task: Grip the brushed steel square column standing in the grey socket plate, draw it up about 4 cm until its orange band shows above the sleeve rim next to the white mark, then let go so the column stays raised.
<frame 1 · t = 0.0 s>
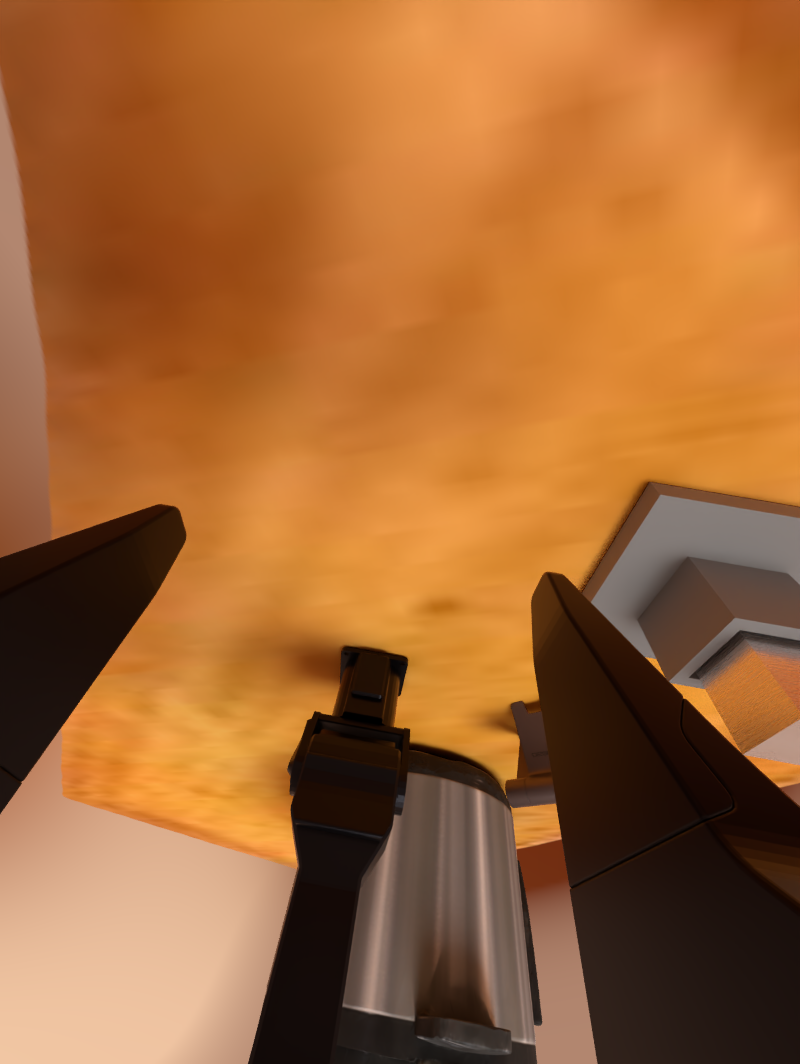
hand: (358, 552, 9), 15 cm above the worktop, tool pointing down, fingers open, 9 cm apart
portable electronic device stand: (546, 714, 40), on the worktop
steel column: (751, 659, 22), point 6 cm above the worktop, slide at 0.0 cm
pressure cooker: (419, 782, 54), on the worktop
grey socket plate: (695, 583, 27), on the worktop
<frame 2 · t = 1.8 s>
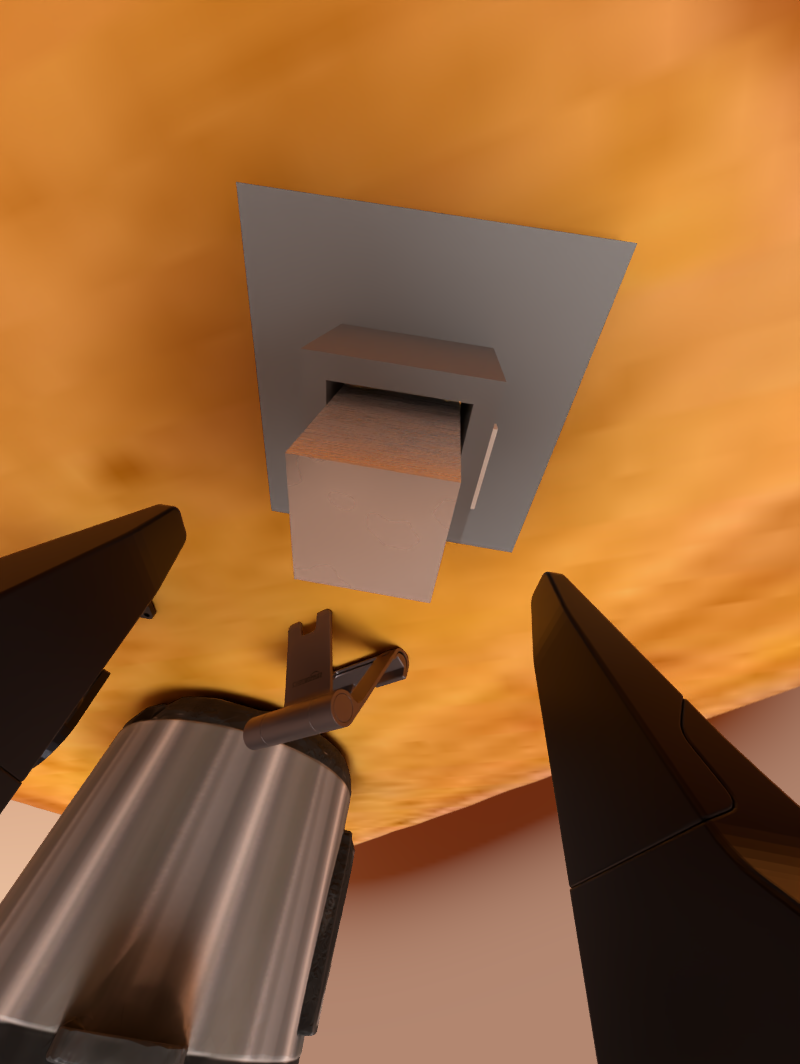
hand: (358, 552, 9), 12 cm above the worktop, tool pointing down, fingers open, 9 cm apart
portable electronic device stand: (341, 642, 31), on the worktop
steel column: (392, 457, 13), point 6 cm above the worktop, slide at 0.0 cm
pressure cooker: (257, 744, 46), on the worktop
grey socket plate: (410, 401, 18), on the worktop
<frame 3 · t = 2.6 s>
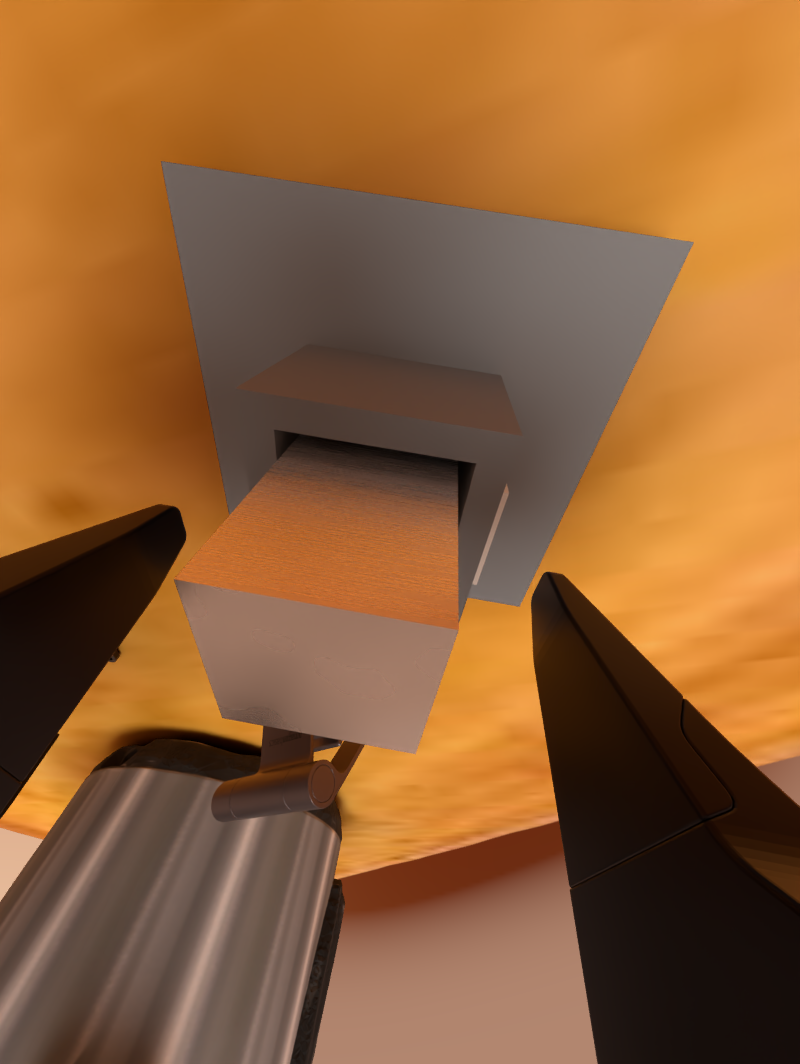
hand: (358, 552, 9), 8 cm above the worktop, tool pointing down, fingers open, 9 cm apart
portable electronic device stand: (326, 687, 28), on the worktop
steel column: (368, 523, 10), point 6 cm above the worktop, slide at 0.0 cm
pressure cooker: (241, 782, 43), on the worktop
grey socket plate: (398, 434, 15), on the worktop
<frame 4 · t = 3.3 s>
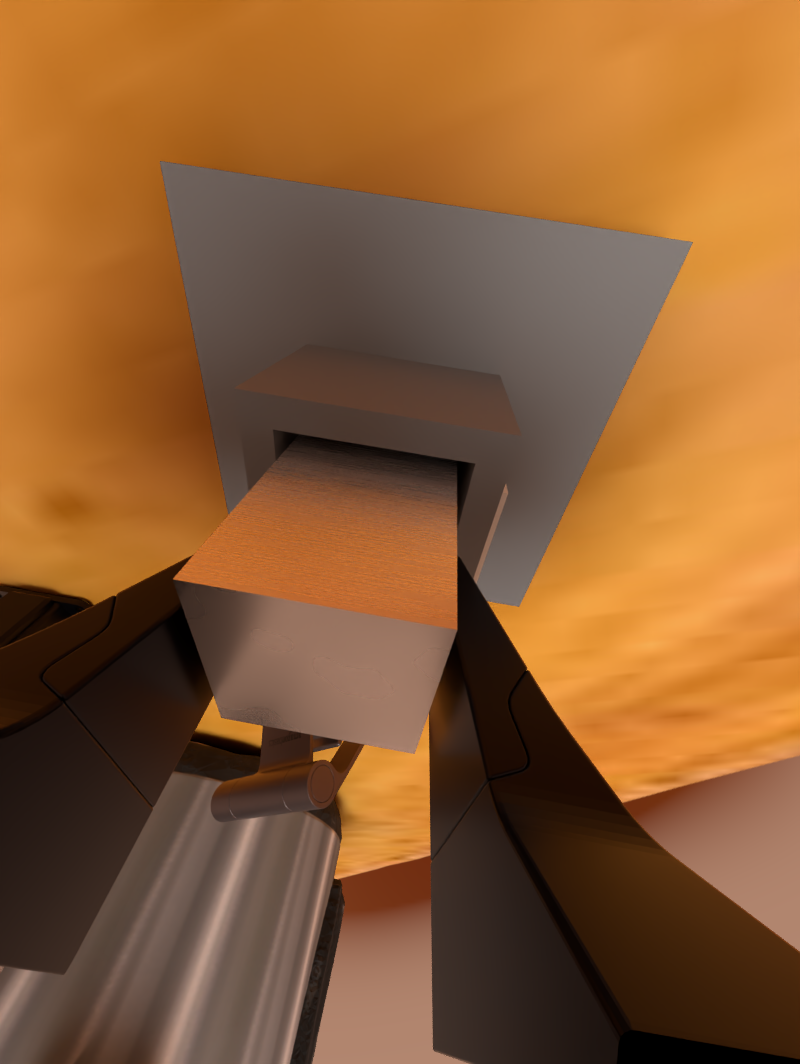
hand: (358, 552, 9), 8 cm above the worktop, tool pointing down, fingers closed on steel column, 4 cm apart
portable electronic device stand: (326, 687, 28), on the worktop
steel column: (368, 523, 10), point 6 cm above the worktop, slide at 0.0 cm, touching gripper
pressure cooker: (240, 783, 43), on the worktop
grey socket plate: (397, 434, 15), on the worktop
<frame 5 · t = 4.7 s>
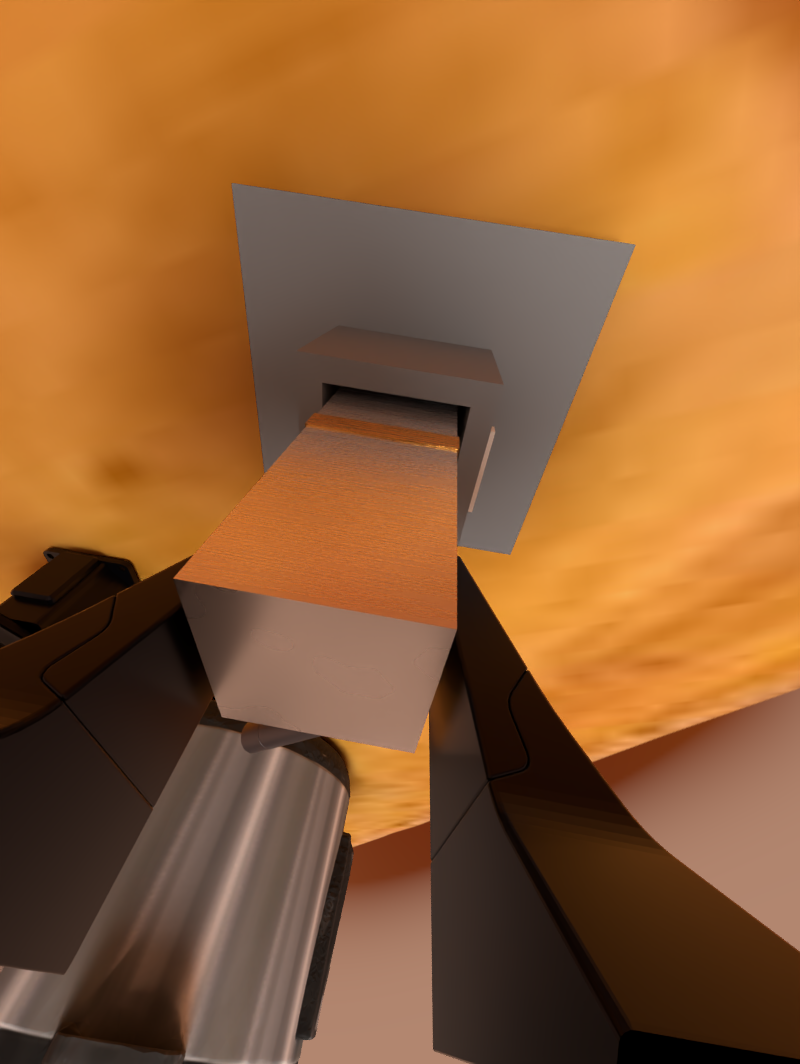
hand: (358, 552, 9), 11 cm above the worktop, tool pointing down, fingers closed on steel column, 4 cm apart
portable electronic device stand: (339, 644, 31), on the worktop
steel column: (368, 523, 10), point 10 cm above the worktop, slide at 3.9 cm, touching gripper
pressure cooker: (255, 746, 46), on the worktop
grey socket plate: (407, 403, 18), on the worktop
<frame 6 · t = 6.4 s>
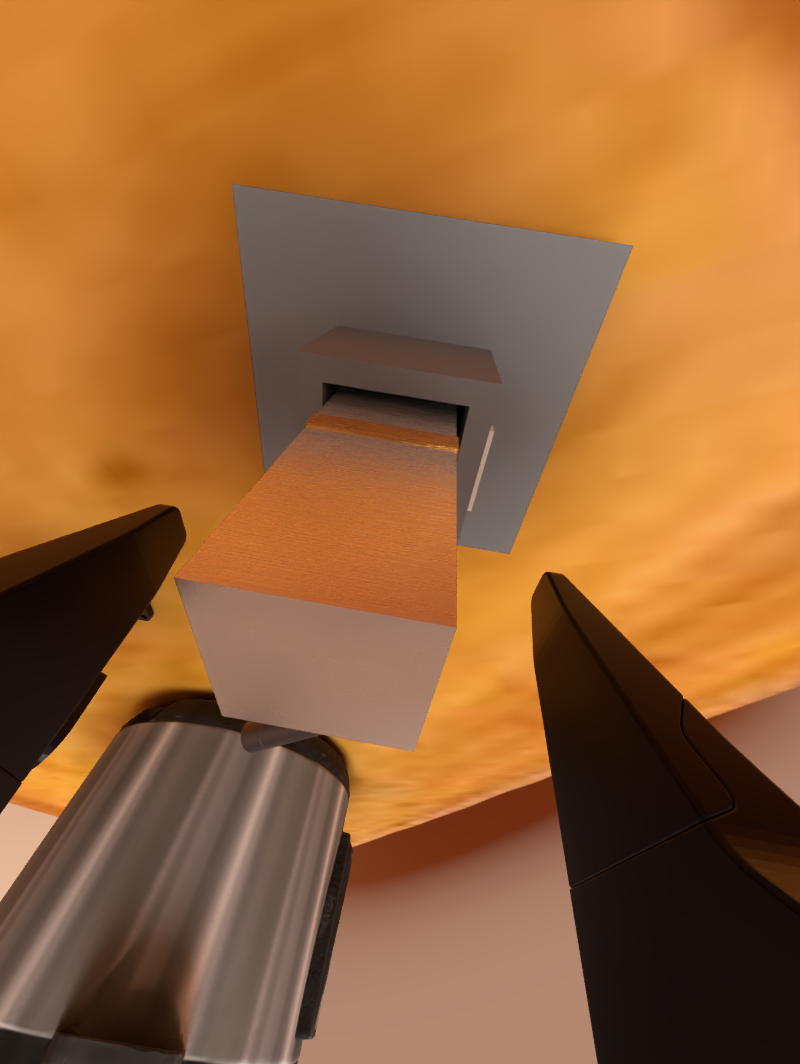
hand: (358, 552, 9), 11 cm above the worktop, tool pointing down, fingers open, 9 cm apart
portable electronic device stand: (339, 644, 31), on the worktop
steel column: (368, 522, 10), point 10 cm above the worktop, slide at 3.9 cm
pressure cooker: (255, 746, 46), on the worktop
grey socket plate: (407, 403, 18), on the worktop
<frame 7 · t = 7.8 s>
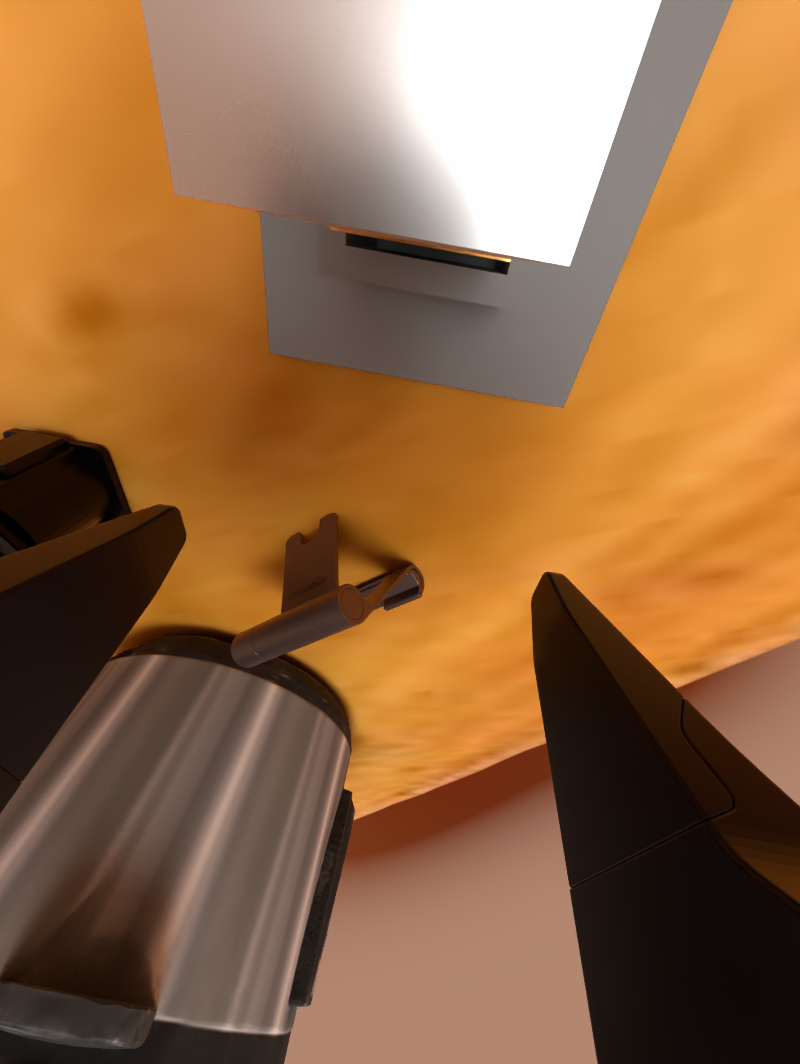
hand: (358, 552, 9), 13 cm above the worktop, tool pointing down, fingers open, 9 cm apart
portable electronic device stand: (346, 561, 27), on the worktop
steel column: (435, 91, 6), point 10 cm above the worktop, slide at 3.9 cm
pressure cooker: (248, 699, 42), on the worktop
grey socket plate: (449, 182, 14), on the worktop
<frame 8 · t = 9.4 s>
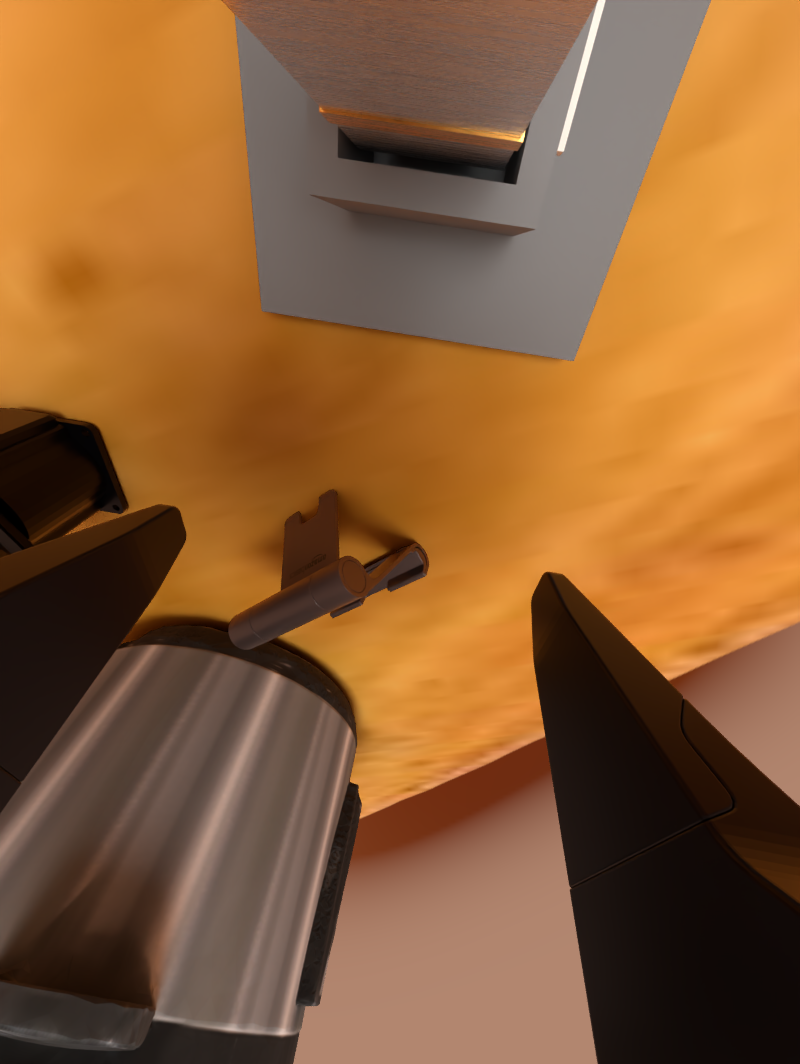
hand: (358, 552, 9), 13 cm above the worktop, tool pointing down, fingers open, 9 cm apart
portable electronic device stand: (347, 542, 26), on the worktop
pressure cooker: (251, 693, 41), on the worktop
grey socket plate: (448, 113, 13), on the worktop
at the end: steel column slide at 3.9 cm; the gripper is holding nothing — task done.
